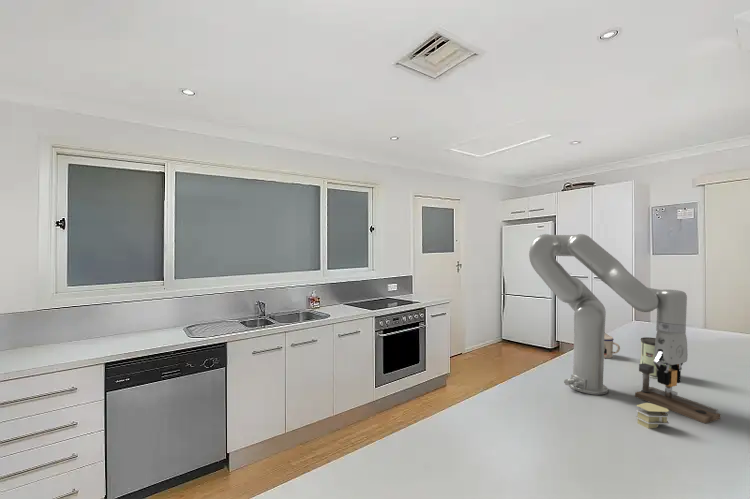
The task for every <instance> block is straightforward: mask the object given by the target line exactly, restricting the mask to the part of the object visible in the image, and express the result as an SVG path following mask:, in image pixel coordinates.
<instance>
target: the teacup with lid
mask: <svg viewBox="0 0 750 499" xmlns="http://www.w3.org/2000/svg"><path fill="white" fill-rule="evenodd" d="M614 345H615V346H616V347H617V350H616V351H614V349H613V348H614ZM620 350H621V346H620V345H619V344H618V343H617V342H614V337H613V336H611V335H608V334H607V333H606V332H605V336H604V359H612V358H613V354H618V353H619V352H620Z"/></svg>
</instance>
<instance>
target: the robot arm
mask: <svg viewBox="0 0 750 499" xmlns="http://www.w3.org/2000/svg"><path fill="white" fill-rule="evenodd" d="M528 256H529V257H528V258H529V262H530V264H531V266H532V268H533V270H534V271H535V272H536V274H537V275H538V276H539V277H540V279H542V281H543V282H544V283H545V284H546V286H547V287H548V288H549V290H551V291H552V292H553V294H554V295H555V296H556V297H557V298H558V300H560V301H561V302H563V303H565V304H567V305H568V306H569V307H570V308H571V309H572V310H573V311H574V314H573V359H572V360H573V362H572V363H573V366H572V374H570V375H571V377H570V378H567V379H564V381H563V383H564V385H566V386H568V387H569V388H571V389H572V390H574V391H577V392H579V393H583V394H588V395H595V396H601V395H602V396H603V395H606V394H608V392H609V388H608V387H607V385H605V384H604V365H605V363H604V361H605V358H604V336H605V333H606V314H607V312H606V311H607V310H606V307H605V306H604V304H603V303H602V302H601V300H599V298H598V297H597V296H596V295H595V294H594V293H593V292H592V290H590V288H588V286H587V285H586V284H585V283H584V282H583V281H581V279H579V278H578V277H576V276H572V275H570V273H569V272H568V271H567V270H566V269H565V268H564V266H563V265H562V264H560V263H559V262H558V261H557V259H556V258H555V257H557V256H558V257H573V258H575V259H576V260H577V261H579V262H580V263H581V264H582V265H583V266H584V267H585V268H587V269H588V270H589V271H591V273H593V275H595V276H596V277H597V278H598V279H600V280H601V281H602V283H604V284H605V285H607V286H608V287H609V288H610V289H612V291H614V292H615V293H616V294H617V295H618V296H619V297H620V298H622V299H623V300H624V302H626V303H628V305H629V306H631V307H632V308H633V309H634V310H636V311H638V312H640V313H651V312H653V311H654V310H656V327H655V328H656V329H655V330H656V335H655V338H656V340H655V350H654V357H655V360H654V364H655V365H656V367H657V371H658V379H657V382H658V384H662V385H664V386H665V385H669V377H670V373H668V370H669V366H670V367H671V368H670V369H674V370H677V384H679V383H681V377H682V376H681V375H682V374H681V373H682V372H681V371H682V370H683V369H682V366H683V365H684V363H687V362H688V339H687V338H688V337H687V332H686V330H687V306H688V302H687V301H688V296H687V293H686V292H685V291H682V290H677V289H657V288H651V287H647V286H646V285H645V284H644V283H642V282H641V281H640V280H639V279H638V278H637V277H635V276H634V275H633V274H631V273H630V272H629V270H627V268H625V266H624V265H623V264H622V263H621V262H620V261H619V260H618V259H617V258H616V257H614V256H613V255H612V254H611V253H609V251H607V250H606V249H604V248H603V247H602V246H601V245H600V244H599V243H597V242H596V241H595V240H593V239H592V238H591V236H589V235H587V234H583V233H579V234H547V233H545V234H540V235H538V236H537V237H536V238H534V240H533V241H532V242H531V245H530V247H529V253H528ZM662 361H665V362H666V363H665V362H662ZM662 364H665V367H664V366H663V365H662Z"/></svg>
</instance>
